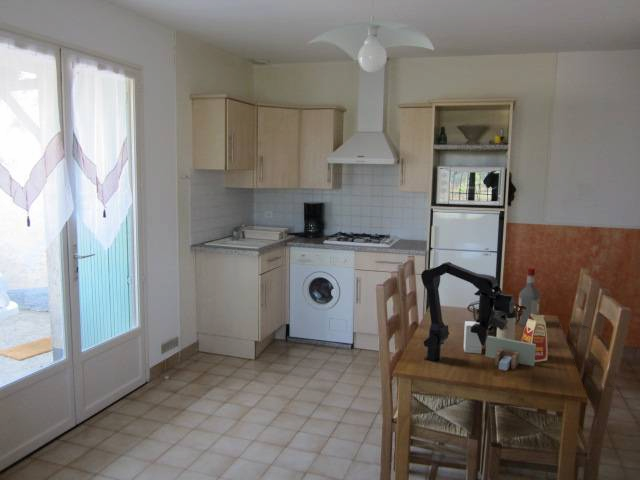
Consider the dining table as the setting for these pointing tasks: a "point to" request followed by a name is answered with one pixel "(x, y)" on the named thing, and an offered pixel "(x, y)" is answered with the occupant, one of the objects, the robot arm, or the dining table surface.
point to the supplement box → (471, 339)
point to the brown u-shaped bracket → (502, 353)
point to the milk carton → (536, 336)
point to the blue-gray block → (505, 363)
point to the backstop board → (511, 349)
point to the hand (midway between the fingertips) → (482, 344)
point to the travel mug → (508, 326)
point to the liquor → (529, 299)
